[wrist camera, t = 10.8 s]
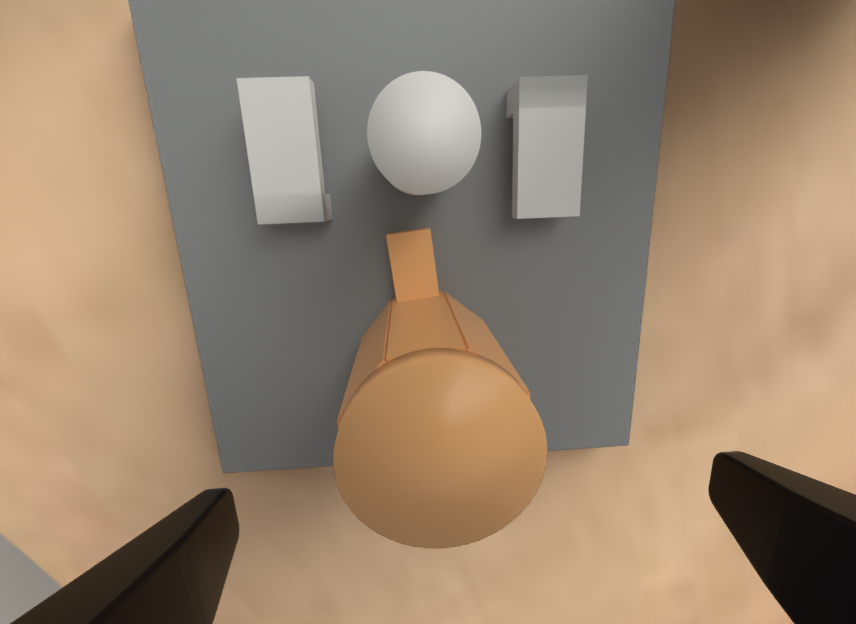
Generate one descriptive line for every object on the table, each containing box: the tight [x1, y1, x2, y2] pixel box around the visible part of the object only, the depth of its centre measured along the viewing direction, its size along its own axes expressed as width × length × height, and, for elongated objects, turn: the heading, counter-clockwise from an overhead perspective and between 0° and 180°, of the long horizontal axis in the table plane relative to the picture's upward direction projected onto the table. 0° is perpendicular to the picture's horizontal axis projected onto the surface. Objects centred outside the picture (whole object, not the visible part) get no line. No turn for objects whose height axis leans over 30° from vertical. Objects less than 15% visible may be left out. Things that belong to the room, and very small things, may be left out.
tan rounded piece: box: [333, 227, 547, 548], centre depth 15 cm, size 11×6×8 cm, turn 8°
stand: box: [128, 0, 675, 473], centre depth 16 cm, size 20×20×8 cm
